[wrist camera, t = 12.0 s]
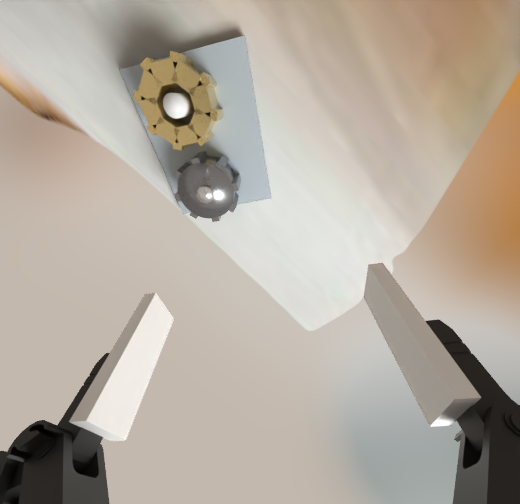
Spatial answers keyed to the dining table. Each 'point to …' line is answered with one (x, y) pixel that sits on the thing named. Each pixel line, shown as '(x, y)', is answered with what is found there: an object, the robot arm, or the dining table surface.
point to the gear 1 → (166, 81)
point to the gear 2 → (207, 186)
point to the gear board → (225, 130)
